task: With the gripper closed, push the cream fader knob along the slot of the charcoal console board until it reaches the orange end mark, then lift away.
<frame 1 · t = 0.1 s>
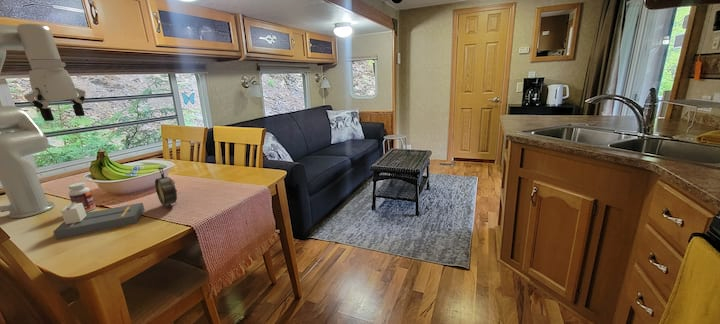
hand: (65, 118, 101), 37 cm above the table, tool pointing down, fingers open, 9 cm apart
pill bottle: (86, 210, 118), on the table
alarm clock: (170, 206, 118), on the table
fader console: (104, 223, 106), on the table
fader knob: (73, 212, 101), point 6 cm above the table, slide at 0.0 cm
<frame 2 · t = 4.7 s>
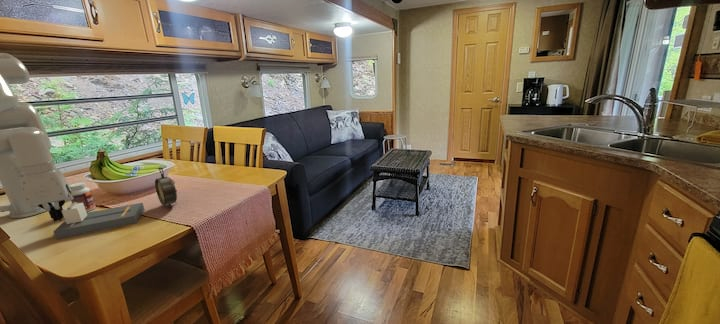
hand: (59, 219, 100), 5 cm above the table, tool pointing down, fingers closed
fader knob: (74, 212, 101), point 6 cm above the table, slide at 0.2 cm, touching gripper
everything else where it was.
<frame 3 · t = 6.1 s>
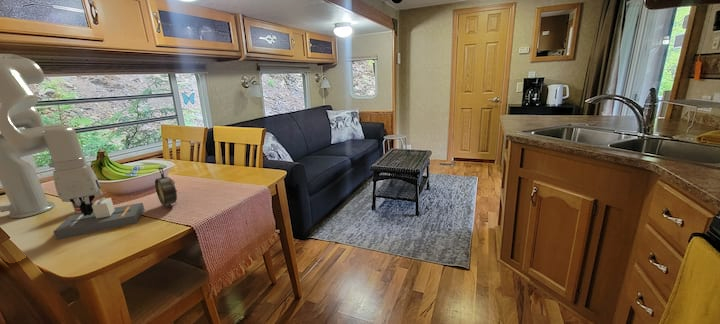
hand: (88, 213, 103), 5 cm above the table, tool pointing down, fingers closed
fader knob: (103, 207, 104), point 6 cm above the table, slide at 8.2 cm, touching gripper
everything else where it was.
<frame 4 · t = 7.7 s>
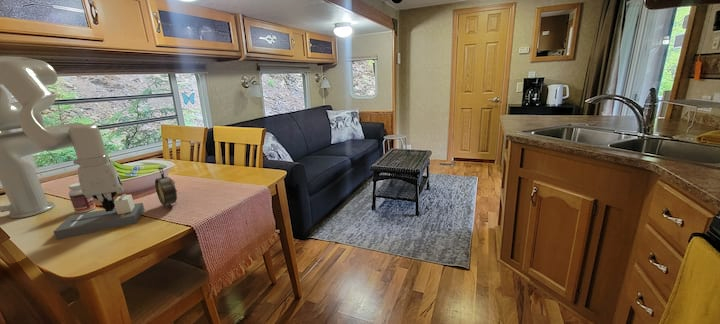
hand: (110, 209, 106), 5 cm above the table, tool pointing down, fingers closed
fader knob: (124, 203, 107), point 6 cm above the table, slide at 14.4 cm, touching gripper
everything else where it was.
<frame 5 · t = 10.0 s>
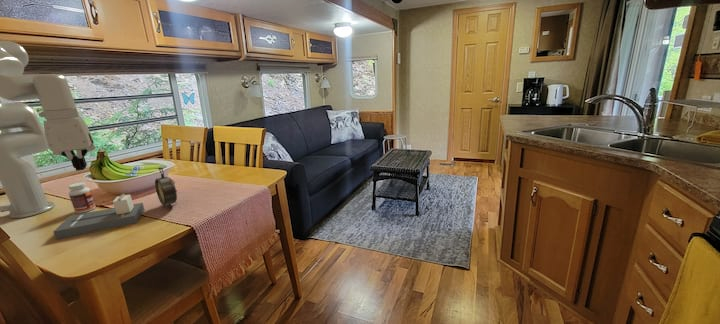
hand: (81, 169, 99), 21 cm above the table, tool pointing down, fingers closed
fader knob: (123, 203, 107), point 6 cm above the table, slide at 14.1 cm
everything else where it was.
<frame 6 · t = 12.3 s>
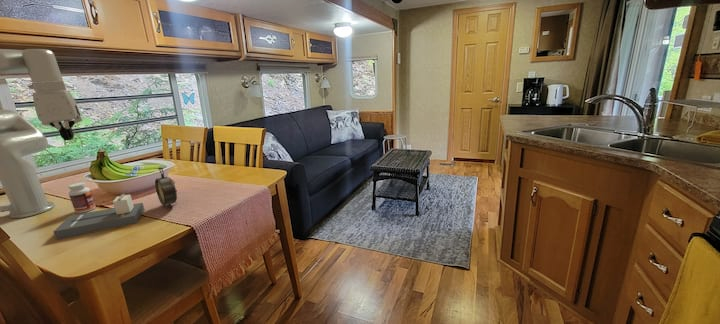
hand: (68, 139, 107), 29 cm above the table, tool pointing down, fingers closed
nothing on the table moved.
at the end: fader knob slide at 14.1 cm; pill bottle moved 0.2 cm from its start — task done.
